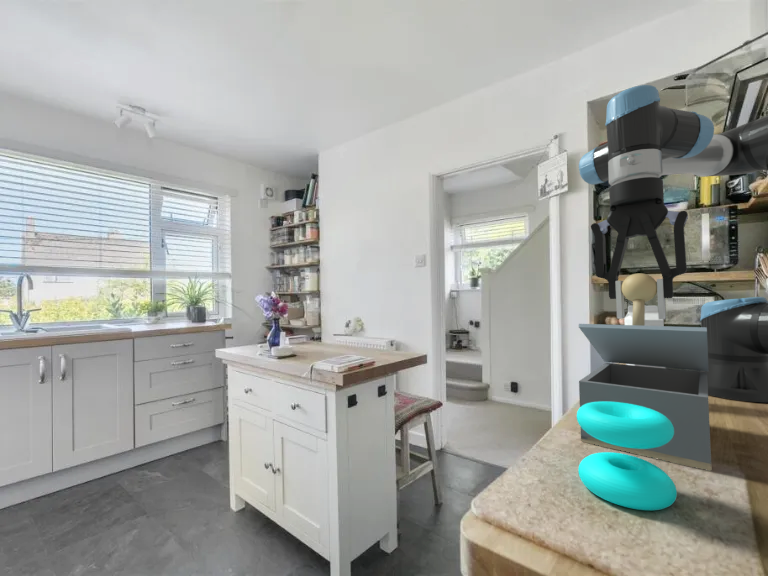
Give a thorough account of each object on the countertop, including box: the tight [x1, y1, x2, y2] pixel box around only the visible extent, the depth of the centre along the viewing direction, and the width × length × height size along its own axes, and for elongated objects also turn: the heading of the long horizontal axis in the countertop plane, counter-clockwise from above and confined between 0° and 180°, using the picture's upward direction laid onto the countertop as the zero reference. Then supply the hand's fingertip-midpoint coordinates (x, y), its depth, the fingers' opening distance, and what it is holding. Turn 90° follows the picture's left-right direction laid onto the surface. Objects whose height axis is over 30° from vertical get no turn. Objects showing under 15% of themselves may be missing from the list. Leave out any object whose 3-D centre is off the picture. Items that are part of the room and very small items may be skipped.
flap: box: [578, 272, 708, 371], centre depth 65 cm, size 22×16×10 cm
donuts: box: [576, 401, 678, 511], centre depth 44 cm, size 10×10×10 cm
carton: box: [578, 362, 713, 471], centre depth 62 cm, size 22×16×10 cm
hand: (640, 318), depth 60 cm, fingers closed on flap, 5 cm apart
